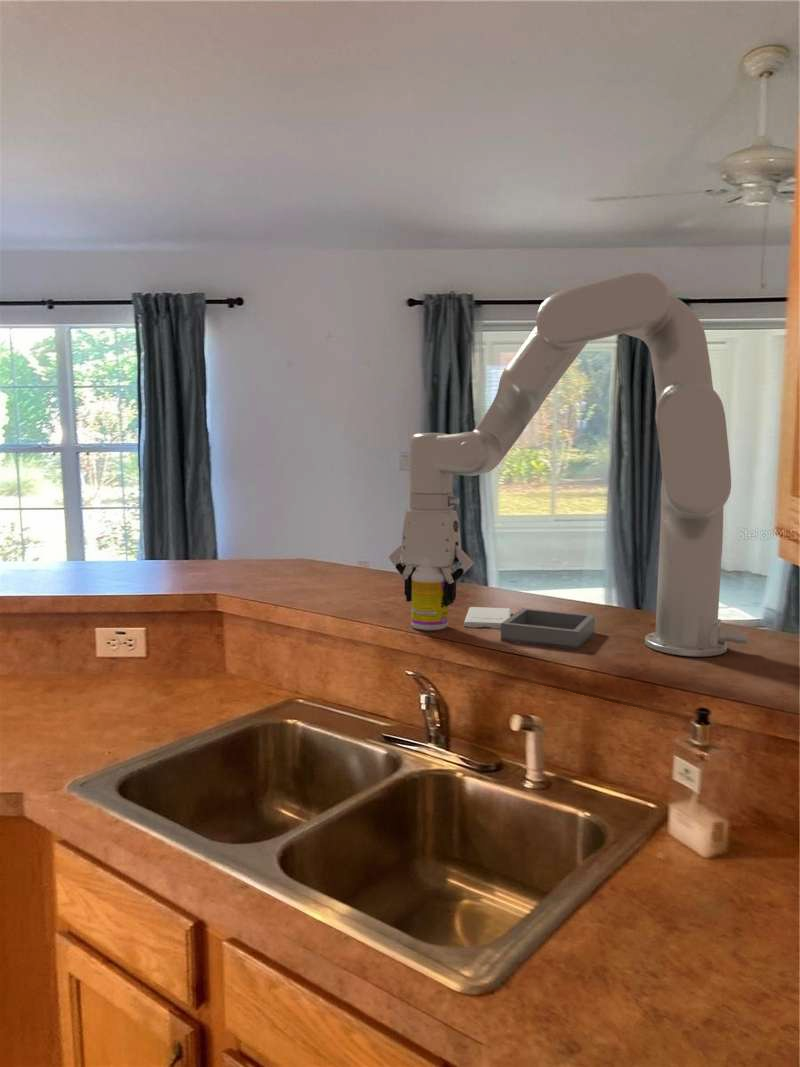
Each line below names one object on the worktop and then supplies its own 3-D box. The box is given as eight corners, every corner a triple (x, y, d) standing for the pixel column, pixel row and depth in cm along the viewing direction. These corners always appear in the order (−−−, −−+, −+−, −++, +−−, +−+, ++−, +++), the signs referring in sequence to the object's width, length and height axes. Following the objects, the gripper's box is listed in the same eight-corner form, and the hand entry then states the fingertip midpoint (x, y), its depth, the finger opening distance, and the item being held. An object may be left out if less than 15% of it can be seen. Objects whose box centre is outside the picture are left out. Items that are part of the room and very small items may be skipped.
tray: (594, 632, 138) (594, 615, 137) (577, 650, 126) (578, 631, 126) (522, 624, 143) (523, 608, 143) (500, 640, 132) (501, 623, 131)
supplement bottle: (445, 632, 137) (446, 560, 135) (408, 630, 138) (408, 558, 137) (450, 623, 144) (451, 554, 142) (414, 621, 145) (415, 553, 143)
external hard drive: (511, 616, 152) (509, 631, 140) (468, 614, 154) (463, 629, 141) (511, 608, 152) (509, 622, 140) (469, 606, 153) (463, 620, 141)
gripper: (484, 503, 138) (482, 602, 140) (395, 499, 145) (395, 594, 147) (469, 506, 131) (468, 611, 133) (377, 502, 138) (377, 601, 141)
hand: (429, 601), depth 140 cm, fingers closed on supplement bottle, 6 cm apart
